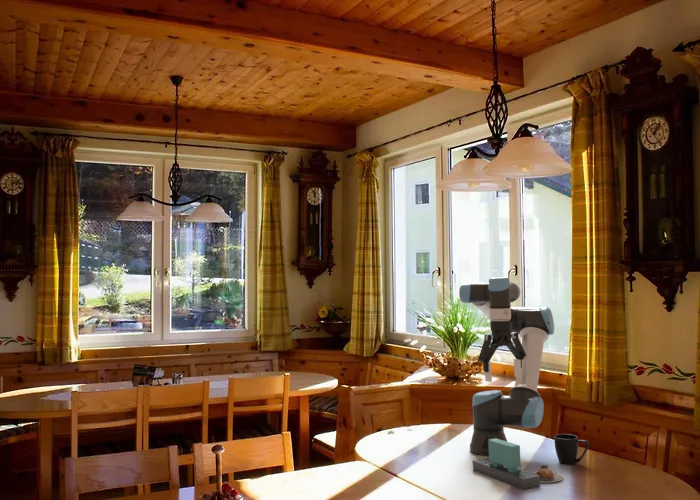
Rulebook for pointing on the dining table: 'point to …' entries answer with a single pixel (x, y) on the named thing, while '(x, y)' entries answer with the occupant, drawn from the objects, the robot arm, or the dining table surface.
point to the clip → (504, 454)
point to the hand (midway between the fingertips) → (503, 379)
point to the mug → (568, 448)
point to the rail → (507, 474)
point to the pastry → (547, 474)
